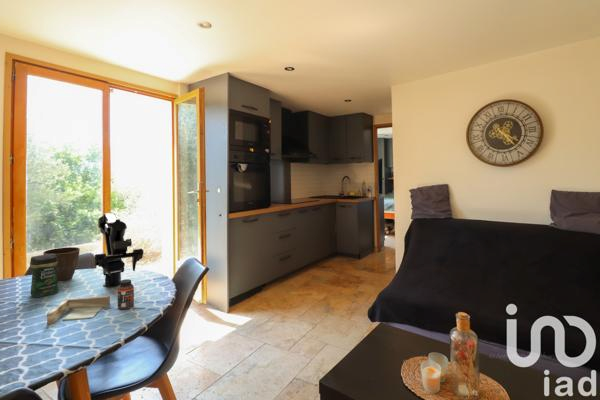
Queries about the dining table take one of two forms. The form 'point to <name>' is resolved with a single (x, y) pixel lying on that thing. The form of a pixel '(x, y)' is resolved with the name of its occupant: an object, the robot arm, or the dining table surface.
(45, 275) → the coffee jar
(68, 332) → the dining table surface
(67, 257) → the plant pot
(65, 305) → the arena
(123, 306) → the supplement bottle
